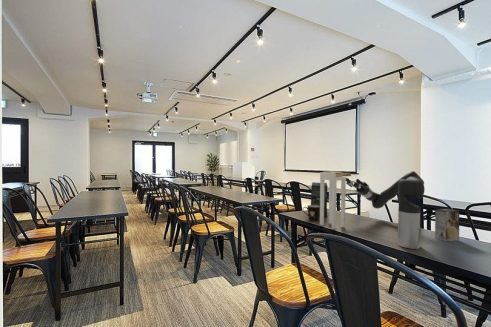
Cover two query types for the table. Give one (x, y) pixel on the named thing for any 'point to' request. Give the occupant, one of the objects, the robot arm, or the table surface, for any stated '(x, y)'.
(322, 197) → the white stand
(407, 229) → the robot arm
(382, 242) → the table surface
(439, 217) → the coffee box
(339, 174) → the oak paddle
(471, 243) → the table surface
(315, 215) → the coffee mug
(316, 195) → the headset box
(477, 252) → the table surface
